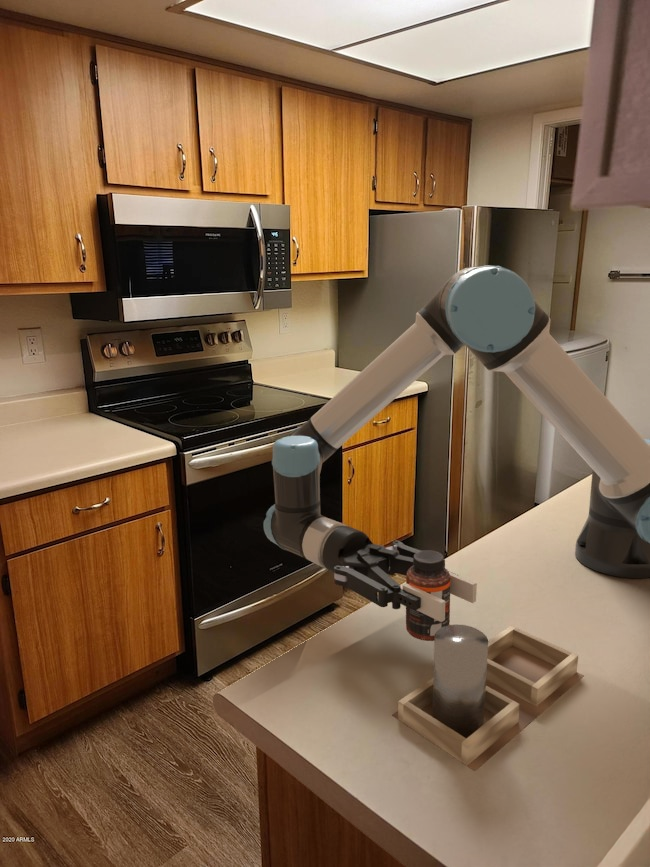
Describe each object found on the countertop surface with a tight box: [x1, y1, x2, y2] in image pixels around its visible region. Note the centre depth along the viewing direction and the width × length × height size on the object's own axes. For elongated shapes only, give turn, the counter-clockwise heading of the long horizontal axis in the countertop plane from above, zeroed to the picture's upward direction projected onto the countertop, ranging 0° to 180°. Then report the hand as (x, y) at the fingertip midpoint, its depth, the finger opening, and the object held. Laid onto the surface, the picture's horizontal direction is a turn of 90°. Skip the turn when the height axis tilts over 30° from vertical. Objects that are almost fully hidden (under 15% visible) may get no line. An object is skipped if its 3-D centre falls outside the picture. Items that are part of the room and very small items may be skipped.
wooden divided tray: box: [391, 625, 585, 772], centre depth 80 cm, size 24×12×4 cm, turn 132°
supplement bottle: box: [405, 549, 451, 642], centre depth 86 cm, size 6×6×11 cm
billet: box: [432, 624, 489, 738], centre depth 74 cm, size 6×6×11 cm
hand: (459, 601), depth 82 cm, fingers closed on supplement bottle, 6 cm apart
